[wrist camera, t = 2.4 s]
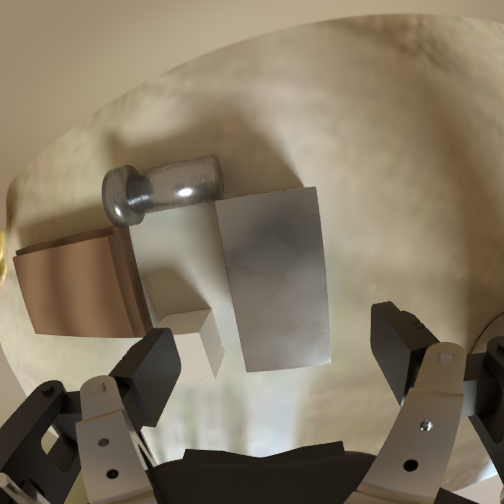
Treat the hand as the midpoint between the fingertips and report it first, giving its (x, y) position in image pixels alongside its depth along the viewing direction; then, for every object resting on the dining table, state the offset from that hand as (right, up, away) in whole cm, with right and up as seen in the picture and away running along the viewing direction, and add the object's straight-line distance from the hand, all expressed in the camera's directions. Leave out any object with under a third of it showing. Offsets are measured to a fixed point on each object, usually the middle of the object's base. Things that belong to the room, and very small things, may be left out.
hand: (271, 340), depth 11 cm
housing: (+1, +3, +10) cm, 10 cm away
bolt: (-6, +8, +9) cm, 14 cm away
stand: (-17, 0, +12) cm, 20 cm away
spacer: (-5, -3, +12) cm, 13 cm away
